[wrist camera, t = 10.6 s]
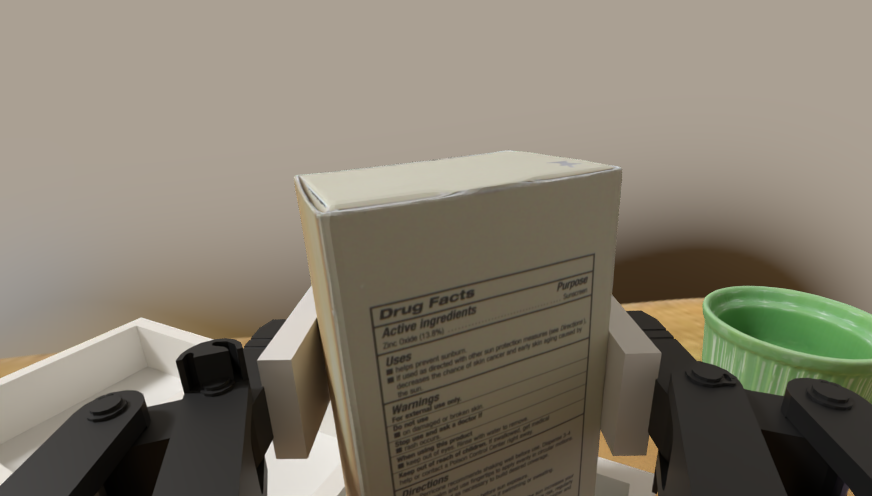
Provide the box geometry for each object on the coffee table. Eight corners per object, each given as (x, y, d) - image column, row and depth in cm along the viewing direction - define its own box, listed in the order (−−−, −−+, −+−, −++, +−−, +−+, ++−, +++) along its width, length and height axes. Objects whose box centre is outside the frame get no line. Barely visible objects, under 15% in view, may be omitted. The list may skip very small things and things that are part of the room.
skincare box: (511, 475, 16) (519, 145, 12) (593, 586, 13) (642, 162, 9) (342, 545, 14) (286, 165, 10) (380, 707, 10) (314, 200, 6)
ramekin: (910, 462, 20) (943, 382, 19) (689, 401, 25) (701, 333, 23) (858, 364, 27) (878, 301, 26) (694, 331, 32) (704, 276, 30)
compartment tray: (-66, 486, 21) (-101, 421, 19) (155, 367, 30) (141, 317, 28) (619, 1091, 8) (645, 1009, 6) (643, 551, 17) (656, 474, 15)
